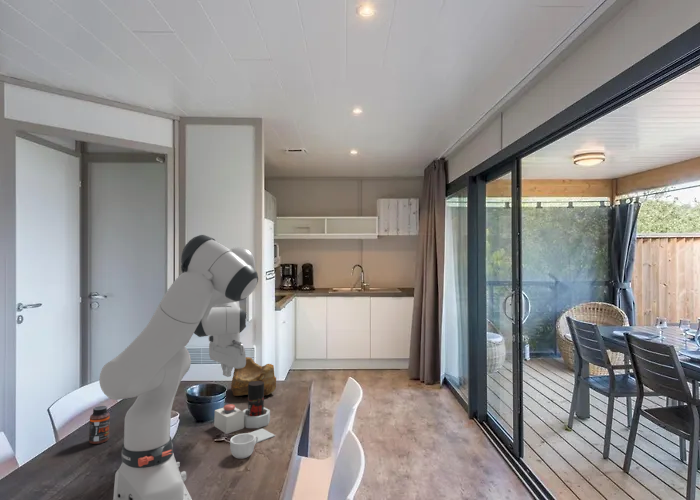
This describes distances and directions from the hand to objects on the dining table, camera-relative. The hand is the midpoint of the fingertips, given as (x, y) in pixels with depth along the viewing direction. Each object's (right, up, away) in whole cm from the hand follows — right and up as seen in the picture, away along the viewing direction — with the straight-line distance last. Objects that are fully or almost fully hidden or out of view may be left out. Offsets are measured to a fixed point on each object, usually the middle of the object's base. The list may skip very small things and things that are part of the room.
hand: (227, 375), depth 155 cm
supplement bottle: (-40, -19, -13) cm, 46 cm away
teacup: (+12, -19, -20) cm, 30 cm away
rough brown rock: (-1, -19, +36) cm, 41 cm away
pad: (+14, -19, -7) cm, 25 cm away
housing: (+6, -19, +2) cm, 20 cm away
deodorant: (+10, -19, +4) cm, 22 cm away
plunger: (+1, -17, 0) cm, 17 cm away
